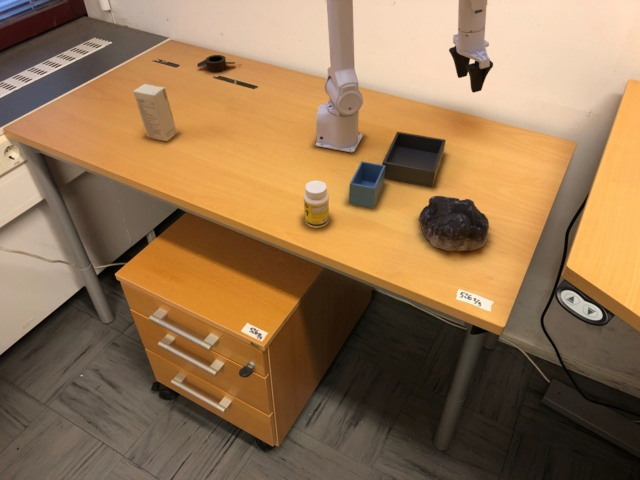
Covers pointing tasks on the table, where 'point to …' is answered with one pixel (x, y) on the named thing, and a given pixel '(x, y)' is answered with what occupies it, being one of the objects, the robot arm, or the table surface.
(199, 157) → the table surface
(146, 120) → the cosmetic box
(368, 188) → the blue bin
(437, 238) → the crystal cluster
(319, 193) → the supplement bottle
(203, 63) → the black ring with tabs
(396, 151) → the charcoal bin
